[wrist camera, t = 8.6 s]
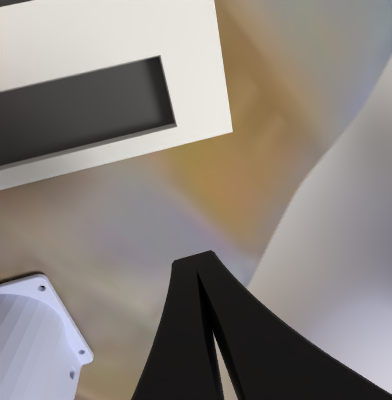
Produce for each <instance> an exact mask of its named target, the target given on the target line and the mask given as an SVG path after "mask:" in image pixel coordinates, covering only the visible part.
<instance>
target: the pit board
mask: <svg viewBox="0 0 392 400" xmlns="http://www.w3.org/2000/svg"><path fill="white" fill-rule="evenodd" d="M230 132H233V130H232V123H231V116H230V109H229V102H228V95H227V88H226V81H225V74H224V67H223V60H222V53H221V46H220V39H219V32H218V25H217V18H216V11H215V4H214V0H0V190H3V189H7V188H11V187H15V186H19V185H23V184H27V183H31V182H35V181H39V180H43V179H47V178H51V177H55V176H59V175H63V174H67V173H71V172H75V171H79V170H83V169H87V168H90V167H94V166H98V165H102V164H106V163H110V162H114V161H118V160H122V159H126V158H130V157H134V156H138V155H142V154H146V153H150V152H154V151H158V150H162V149H166V148H170V147H174V146H178V145H182V144H186V143H190V142H194V141H198V140H202V139H206V138H210V137H214V136H218V135H222V134H226V133H230Z"/></svg>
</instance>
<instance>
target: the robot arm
mask: <svg viewBox="0 0 392 400" xmlns="http://www.w3.org/2000/svg"><path fill="white" fill-rule="evenodd" d="M41 286H44V287H41ZM212 330H213V331H212ZM213 333H214V336H215V338H216V341H217V344H218V347H219V349H220V352H221V355H222V357H223V360H224V363H225V365H226V368H227V370H228V373H229V376H230V379H231V382H232V384H233V387H234V390H235V393H236V395H237V398H238V400H392V394H390V393H388V392H387V391H385V390H383V389H382V388H380V387H378V386H377V385H375V384H374V383H372V382H371V381H369V380H367V379H366V378H364V377H363V376H361V375H359V374H358V373H356V372H355V371H353V370H352V369H350V368H349V367H347V366H345V365H344V364H342V363H341V362H339V361H338V360H336V359H334V358H333V357H331V356H330V355H328V354H327V353H325V352H324V351H323V350H321V349H320V348H318V347H317V346H316V345H314V344H312V343H311V342H310V341H308V340H307V339H306V338H304V337H303V336H302V335H300V334H299V333H298V332H296V331H295V330H294V329H292V328H291V327H290V326H288V325H287V324H286V323H285V322H283V321H282V320H281V319H280V318H278V317H277V316H276V315H275V314H274V313H272V312H271V311H270V310H269V309H268V308H267V307H266V306H264V305H263V304H262V303H261V302H260V301H259V300H258V299H256V298H255V297H254V296H253V295H252V294H251V293H250V292H249V291H248V290H247V289H246V288H245V287H244V286H243V285H242V284H241V283H240V282H239V281H238V280H237V279H236V278H235V277H234V276H233V275H232V274H231V273H230V272H229V270H228V269H227V268H226V267H225V266H224V265H223V263H222V262H221V261H220V260H219V258H218V257H217V256H216V254H215V252H213V251H211V250H210V251H206V252H203V253H199V254H196V255H192V256H188V257H185V258H181V259H178V260H174V262H173V263H172V271H171V278H170V284H169V289H168V294H167V298H166V302H165V306H164V310H163V313H162V317H161V321H160V324H159V327H158V330H157V333H156V336H155V339H154V342H153V346H152V348H151V351H150V354H149V357H148V359H147V362H146V365H145V367H144V370H143V372H142V375H141V377H140V380H139V382H138V385H137V387H136V390H135V392H134V394H133V396H132V399H131V400H224V395H223V390H222V389H223V388H222V383H221V377H220V371H219V365H218V360H217V354H216V349H215V342H214V337H213ZM93 356H94V355H93V353H92V351H91V350H90V348H89V346H88V345H87V343H86V341H85V340H84V338H83V336H82V335H81V333H80V331H79V330H78V328H77V326H76V325H75V323H74V321H73V320H72V318H71V316H70V315H69V313H68V311H67V310H66V308H65V306H64V305H63V303H62V301H61V300H60V298H59V296H58V295H57V293H56V291H55V290H54V288H53V286H52V285H51V283H50V281H49V280H48V278H47V277H46V276H45V275H43V274H35V275H32V276H28V277H24V278H21V279H17V280H14V281H10V282H6V283H3V284H0V400H74V398H75V393H76V388H77V384H78V379H79V374H80V370H81V365H84V364H88V363H90V362H92V360H93Z"/></svg>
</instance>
